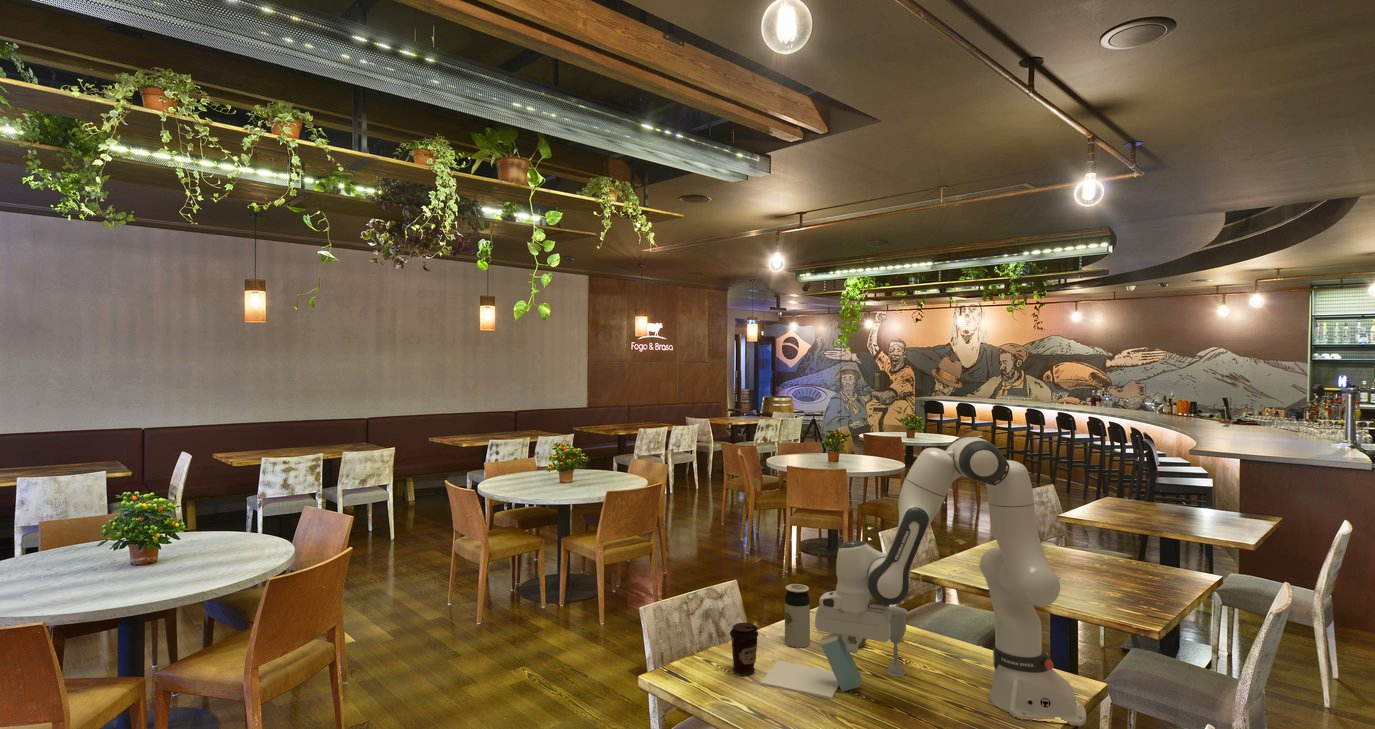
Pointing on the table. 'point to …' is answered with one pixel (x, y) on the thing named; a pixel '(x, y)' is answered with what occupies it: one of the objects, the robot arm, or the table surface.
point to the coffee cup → (744, 648)
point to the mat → (802, 679)
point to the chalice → (897, 637)
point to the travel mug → (797, 616)
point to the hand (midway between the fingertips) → (852, 651)
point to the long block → (841, 661)
